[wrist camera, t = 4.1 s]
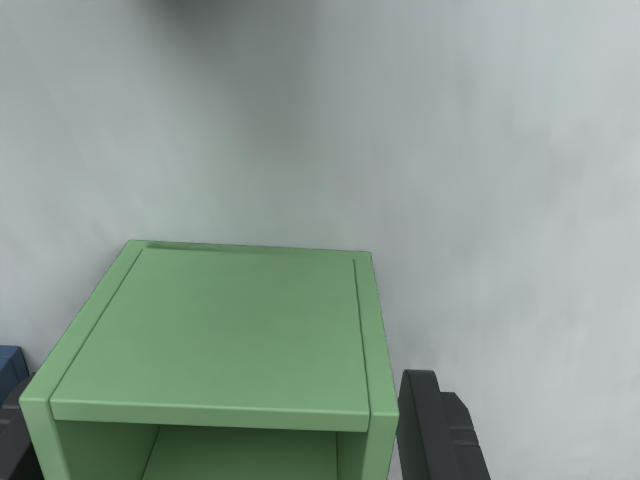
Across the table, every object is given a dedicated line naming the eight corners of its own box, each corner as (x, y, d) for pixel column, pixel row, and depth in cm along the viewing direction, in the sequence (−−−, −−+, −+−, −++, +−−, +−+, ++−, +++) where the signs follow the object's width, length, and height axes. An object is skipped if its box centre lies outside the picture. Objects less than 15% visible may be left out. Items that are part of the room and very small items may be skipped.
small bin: (153, 410, 16) (83, 600, 11) (128, 238, 13) (15, 399, 8) (350, 418, 16) (362, 609, 11) (371, 251, 13) (400, 414, 8)
